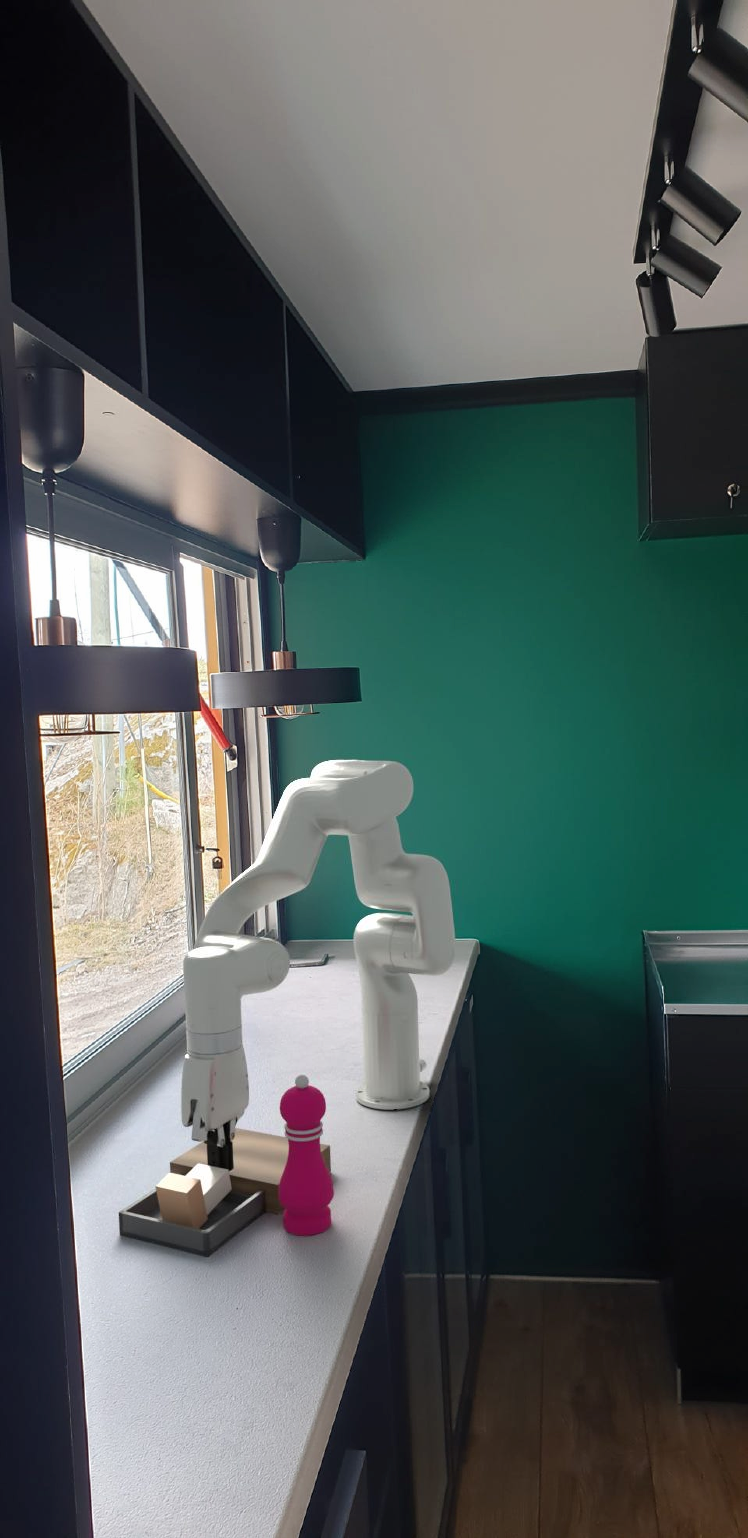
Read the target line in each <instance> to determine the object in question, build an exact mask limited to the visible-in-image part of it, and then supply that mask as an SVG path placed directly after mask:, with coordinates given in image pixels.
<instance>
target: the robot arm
mask: <svg viewBox="0 0 748 1538" xmlns="http://www.w3.org/2000/svg"><path fill="white" fill-rule="evenodd" d="M413 794H414V780H413V777H412V774H411V772H410V771H409V769H408V768H407V767H406V766H405V765H403V764H402V763H400V762H398V761H394V760H392V761H391V760H361V759H346V760H345V759H335V760H328V761H323V762H321V763H319V764H317V765H316V766H315V767H314V768H313V769H312V771H311V775H310V777H306V778H300V779H297V780H294V781H293V782H291V783H290V784H289V785H287V787H286V788H285V790H284V791H283V793H282V796H281V798H280V800H279V803H278V806H277V808H276V811H275V812H274V816H273V818H272V821H271V823H270V825H269V828H268V830H267V833H266V835H265V837H264V840H263V843H262V845H261V848H260V850H259V853H258V856H257V859H256V860H255V862H254V863H253V864H252V865H251V866H250V867H249V868H247V869H246V870H245V871H244V872H242V873H241V874H240V875H238V876H237V877H236V878H235V879H234V880H233V881H232V882H231V883H230V884H229V885H227V886H226V887H225V888H224V889H223V891H221V893H219V895H217V897H216V898H215V899H214V900H213V902H212V903H211V905H210V906H209V908H208V910H207V912H206V914H205V916H204V919H203V921H202V923H201V925H200V928H199V931H198V934H197V936H196V939H195V942H194V945H193V949H192V950H190V951H189V952H187V953H186V954H185V956H184V958H183V963H182V964H183V965H182V966H183V967H182V968H183V970H182V971H183V988H184V990H183V991H184V1007H185V1008H184V1009H185V1028H186V1030H185V1033H186V1051H187V1054H185V1056H184V1059H183V1064H182V1073H181V1075H182V1076H181V1092H180V1093H181V1094H180V1099H181V1100H180V1107H181V1109H180V1112H181V1113H180V1115H181V1123H182V1126H183V1127H185V1128H189V1127H192V1129H191V1140H192V1141H193V1142H199V1143H201V1142H203V1141H204V1144H207V1161H208V1166H213V1167H218V1168H223V1169H227V1170H228V1171H231V1170H233V1168H234V1163H233V1142H232V1140H233V1139H234V1138H235V1128H236V1125H237V1124H238V1121H239V1120H240V1119H242V1117H243V1116H244V1114H245V1111H246V1109H247V1108H248V1107H249V1102H250V1100H249V1099H250V1087H249V1085H250V1084H249V1074H248V1073H249V1072H248V1064H247V1057H246V1051H245V1047H244V1044H243V1043H244V1041H243V1039H244V1038H243V1037H244V1035H243V1015H242V997H244V996H248V995H252V994H253V995H254V994H261V993H266V992H269V991H271V990H275V989H276V988H277V987H279V986H280V985H281V984H282V983H283V982H284V981H285V979H286V978H287V976H288V974H289V972H290V971H289V970H290V968H291V958H290V954H289V952H288V950H287V948H286V947H285V946H284V945H283V944H282V943H281V942H279V941H278V940H275V939H272V938H269V937H263V936H254V935H250V934H249V935H248V934H240V933H239V932H240V930H241V928H242V927H243V925H244V924H245V923H246V922H247V920H248V919H249V918H250V917H251V916H253V914H254V913H256V912H258V911H259V910H260V909H261V908H264V907H265V906H267V905H270V904H272V903H274V902H277V901H279V900H281V899H284V898H287V897H289V896H291V895H293V894H296V893H298V892H301V891H302V890H304V889H306V887H308V885H309V884H310V882H311V880H312V877H313V874H314V872H315V869H316V867H317V863H318V861H319V857H320V856H321V853H322V849H323V847H324V845H325V843H326V841H327V838H328V836H330V835H332V836H333V835H335V836H336V835H337V836H347V837H348V842H349V843H348V844H349V848H350V855H351V864H352V872H353V879H354V881H353V882H354V887H355V891H356V895H357V898H358V900H359V901H360V902H361V903H362V905H364V906H366V907H368V908H372V909H378V910H385V911H393V912H394V911H395V912H402V913H403V912H404V913H406V912H407V913H411V914H412V915H410V914H409V915H408V914H404V913H403V914H402V913H391V912H377V913H372V914H369V915H366V916H364V917H363V918H362V919H360V921H359V922H358V923H357V925H356V926H355V929H354V932H353V940H352V941H353V950H354V951H353V952H354V956H355V960H356V963H357V969H358V973H359V980H360V981H359V982H360V994H361V996H360V998H361V1019H362V1020H361V1024H362V1025H361V1026H362V1053H363V1055H362V1056H363V1057H362V1058H363V1082H364V1083H362V1084H360V1085H359V1086H358V1087H357V1088H356V1090H355V1099H356V1102H358V1103H359V1104H361V1106H362V1105H363V1106H365V1107H368V1108H370V1109H371V1108H372V1109H375V1110H385V1111H390V1110H392V1111H393V1110H394V1109H397V1110H404V1109H410V1108H415V1107H417V1106H419V1105H422V1104H423V1103H425V1102H426V1101H428V1099H429V1098H430V1088H429V1086H428V1085H427V1084H425V1083H424V1082H422V1081H421V1078H420V1077H421V1073H422V1072H423V1071H424V1070H426V1068H427V1062H426V1061H425V1059H422V1058H420V1040H419V1037H420V1036H419V1035H420V1034H419V1006H418V1004H419V1003H418V1002H419V1001H418V999H419V998H418V993H417V990H416V986H415V983H414V981H413V980H412V977H411V974H412V975H418V976H419V975H420V976H430V977H434V976H435V977H437V976H441V975H443V974H445V973H447V972H448V971H449V970H450V969H451V967H452V965H453V963H454V960H455V957H456V934H455V924H454V915H453V906H452V896H451V886H450V881H449V877H448V873H447V871H446V869H445V867H444V865H443V863H441V861H440V860H439V859H437V858H435V857H433V856H431V855H427V854H418V853H417V854H416V853H407V852H405V851H404V849H403V845H402V840H401V835H400V828H399V827H400V826H399V823H398V820H397V818H396V817H398V816H400V815H401V814H402V813H403V812H404V811H405V810H406V809H407V808H408V807H409V804H410V803H411V802H412V801H411V800H412V798H413Z"/></svg>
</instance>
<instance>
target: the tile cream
mask: <svg viewBox="0 0 748 1538" xmlns="http://www.w3.org/2000/svg"><path fill="white" fill-rule="evenodd" d="M186 1176H187V1177H192V1178H197V1179H200V1180H201V1185H202V1191H203V1196H204V1201H205V1207H206V1212H207V1215H208V1214H209V1213H210V1212H211V1211H212V1210H213V1209H214V1208H215V1207H216V1205H217V1204H218V1203H219V1202H220V1201H221V1200H222V1199H223V1198H224V1197H225V1196H226V1195H227V1194H228V1193H229V1192H230V1190H231V1189H232V1187H231V1182H230V1176H229V1171H228V1170H227V1169H223V1168H218V1167H213V1166H208V1165H204V1164H199V1163H198V1164H197V1165H196V1166H195V1167H194V1168H193V1169H192V1170H191V1171H190V1172H189V1173H188V1174H187V1175H186Z"/></svg>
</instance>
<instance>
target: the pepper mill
mask: <svg viewBox="0 0 748 1538" xmlns="http://www.w3.org/2000/svg"><path fill="white" fill-rule="evenodd" d="M309 1081H310V1080H309V1077H307V1076H306V1075H305V1074H299V1075H297V1076H296V1078H295V1080H294V1084H295V1085H294V1086H292V1087H290V1088H288V1089H287V1090H286V1091H285V1092H284V1093H283V1095H282V1096H281V1098H280V1101H279V1113H280V1116H281V1118H282V1119H283V1120H284V1121H285V1124H284V1126H283V1128H284V1130H285V1131H284V1137H286V1138H288V1143H289V1152H288V1158H287V1163H286V1166H285V1169H284V1171H283V1174H282V1176H281V1179H280V1184H279V1201H280V1202H281V1204H282V1205H283V1206H284V1207H285V1208H286V1209H285V1210H283V1211H282V1219H283V1220H282V1222H283V1228H284V1230H285V1231H286V1232H287V1233H289V1234H292V1235H295V1236H301V1237H302V1236H305V1237H306V1236H314V1235H318V1234H321V1233H323V1232H325V1231H327V1230H328V1229H329V1228H330V1227H331V1225H332V1211H331V1210H332V1209H331V1208H330V1206H329V1204H331V1202H332V1201H333V1199H334V1195H335V1191H334V1190H335V1189H334V1182H333V1180H332V1176H331V1173H329V1171H328V1169H327V1167H326V1165H325V1163H324V1161H323V1158H322V1154H321V1148H320V1144H321V1136H322V1135H323V1134H324V1129H323V1126H324V1123H323V1122H322V1119H323V1117H325V1114H326V1110H327V1103H326V1098H325V1095H324V1094H323V1093H322V1091H321V1090H320V1089H318V1088H317V1087H315V1086H312V1085H310V1084H309V1083H310V1082H309Z"/></svg>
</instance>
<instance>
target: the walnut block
mask: <svg viewBox="0 0 748 1538" xmlns="http://www.w3.org/2000/svg"><path fill="white" fill-rule="evenodd" d="M232 1142H233V1163H234V1168H233V1170H231V1171H229V1176H230V1182H231V1187H232V1189H231V1190H232V1191H237V1192H241V1193H246V1194H250V1195H254V1194H255V1193H257V1192H258V1191H259V1190H264V1192H265V1212H269V1213H273V1214H278V1215H280V1214H281V1213H283V1212H284V1210H285V1209H286V1208H285V1207H284V1206H283V1205H282V1204H281V1202H280V1201H279V1184H280V1179H281V1176H282V1174H283V1171H284V1169H285V1166H286V1163H287V1158H288V1152H289V1143H288V1138H286V1136H281V1135H276V1134H271V1133H266V1132H261V1131H255V1130H248V1129H244V1128H239V1127H235V1138H234V1139H233V1140H232ZM320 1148H321V1154H322V1158H323V1161H324V1163H325V1165H326V1167H327V1169H328V1171H329V1173H330V1172H331V1173H332V1165H331V1164H332V1163H331V1145H330V1144H325V1143H320ZM198 1163H199V1164H204V1165H208V1161H207V1144H204V1141H202V1142H199V1143H198V1144H196V1145H195V1146H193V1147H192V1148H190V1149H189V1150H186V1151H185V1152H183V1153H182V1154H181V1155H179V1156H177V1157H176V1158H174V1159H173V1160H171V1161H170V1162H169V1166H170V1167H169V1173H174V1174H179V1173H180V1172H181V1173H184V1176H186V1175H187V1174H188V1173H189V1172H190V1171H191V1170H192V1169H193V1168H194V1167H195V1166H196V1165H197V1164H198ZM331 1173H330V1174H331Z"/></svg>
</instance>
